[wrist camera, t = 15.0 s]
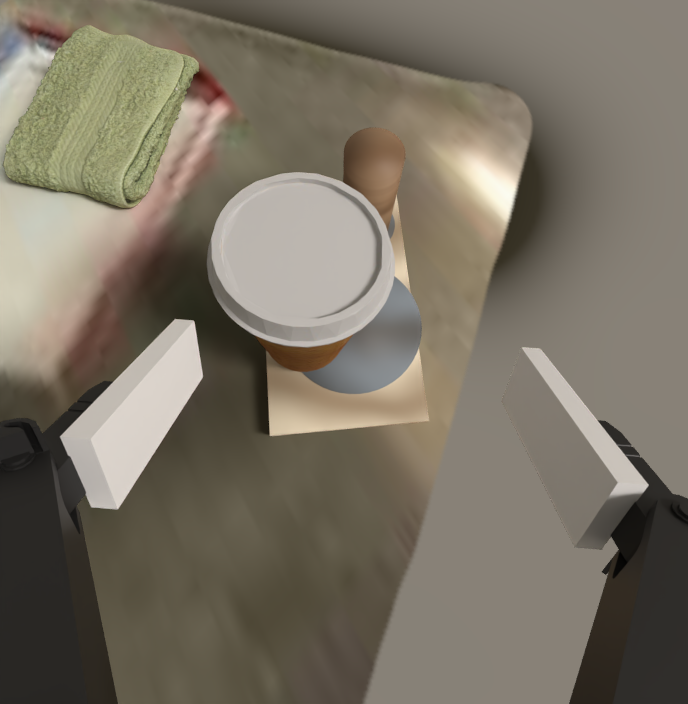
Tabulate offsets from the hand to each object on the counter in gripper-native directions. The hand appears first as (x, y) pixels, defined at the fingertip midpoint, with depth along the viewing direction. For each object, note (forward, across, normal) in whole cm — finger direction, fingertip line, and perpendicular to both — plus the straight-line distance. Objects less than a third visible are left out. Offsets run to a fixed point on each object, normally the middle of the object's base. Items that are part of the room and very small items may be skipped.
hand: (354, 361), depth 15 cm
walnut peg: (+20, 0, +1) cm, 20 cm away
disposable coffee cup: (+13, -4, -6) cm, 15 cm away
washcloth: (+28, -24, +6) cm, 38 cm away
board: (+16, -1, -5) cm, 17 cm away
